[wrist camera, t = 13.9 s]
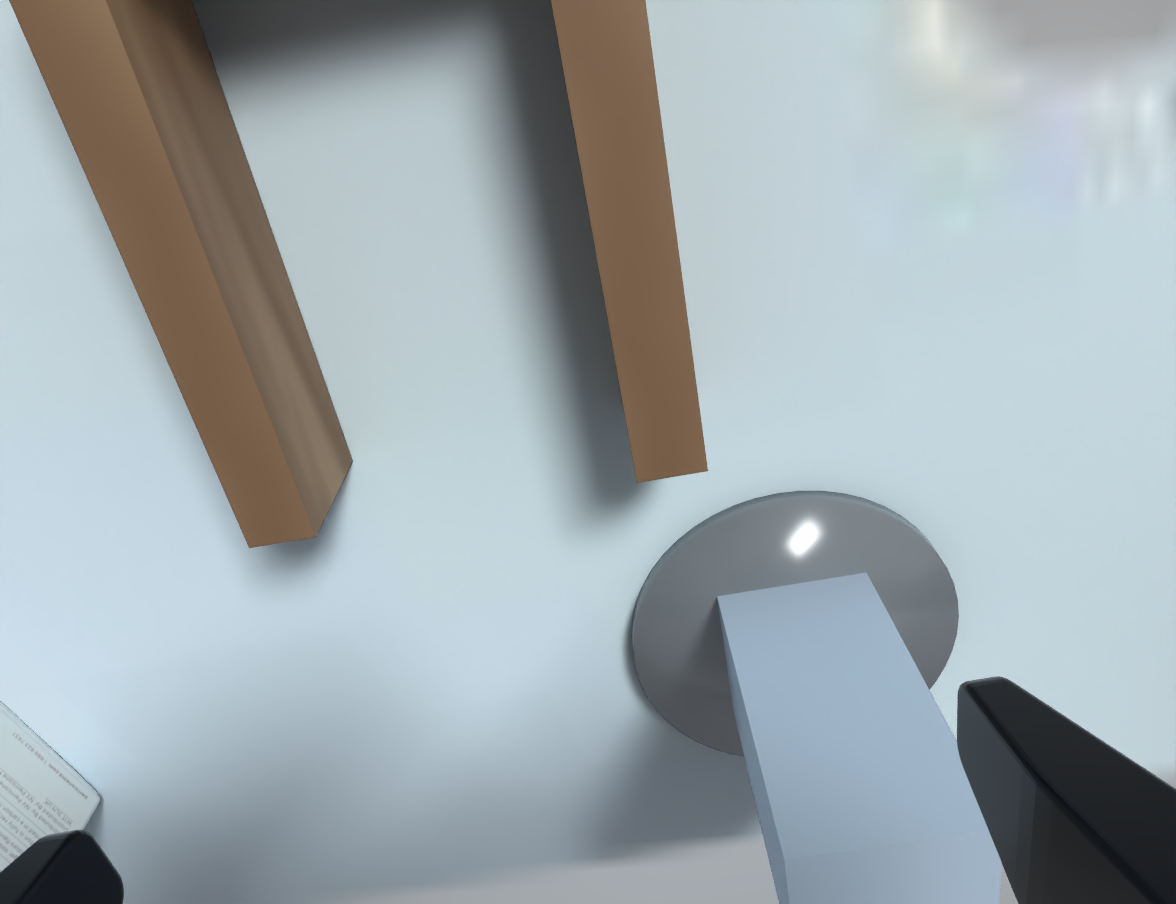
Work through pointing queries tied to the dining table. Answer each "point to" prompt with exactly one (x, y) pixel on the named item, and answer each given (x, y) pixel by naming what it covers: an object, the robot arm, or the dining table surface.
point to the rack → (258, 276)
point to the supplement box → (36, 790)
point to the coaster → (771, 559)
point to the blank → (850, 753)
